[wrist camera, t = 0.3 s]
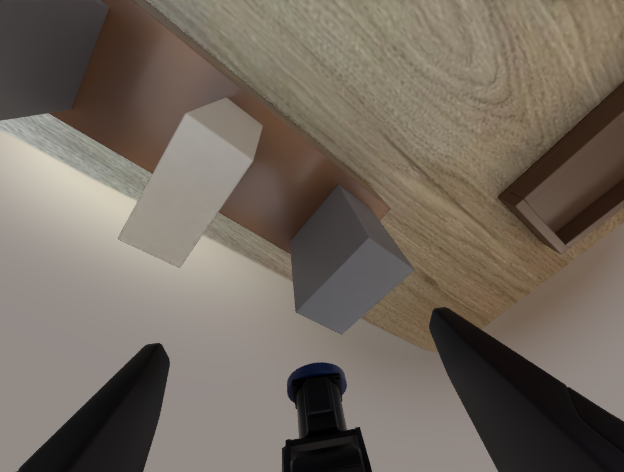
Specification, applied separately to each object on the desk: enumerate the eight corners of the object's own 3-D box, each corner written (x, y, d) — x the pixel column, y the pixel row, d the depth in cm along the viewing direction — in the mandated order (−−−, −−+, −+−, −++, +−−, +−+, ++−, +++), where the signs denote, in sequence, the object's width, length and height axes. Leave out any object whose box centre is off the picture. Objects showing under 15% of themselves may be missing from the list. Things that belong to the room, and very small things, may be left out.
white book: (263, 125, 14) (253, 160, 8) (215, 196, 16) (179, 268, 10) (226, 96, 13) (185, 112, 7) (179, 175, 15) (116, 239, 9)
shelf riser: (370, 185, 22) (391, 209, 18) (318, 243, 24) (326, 275, 20) (78, -56, 13) (-3, -110, 10) (40, 66, 16) (-38, 63, 12)
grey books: (372, 210, 18) (415, 270, 12) (323, 262, 19) (341, 335, 14) (25, -59, 10) (-269, -219, 5) (-6, 63, 12) (-249, 51, 6)
